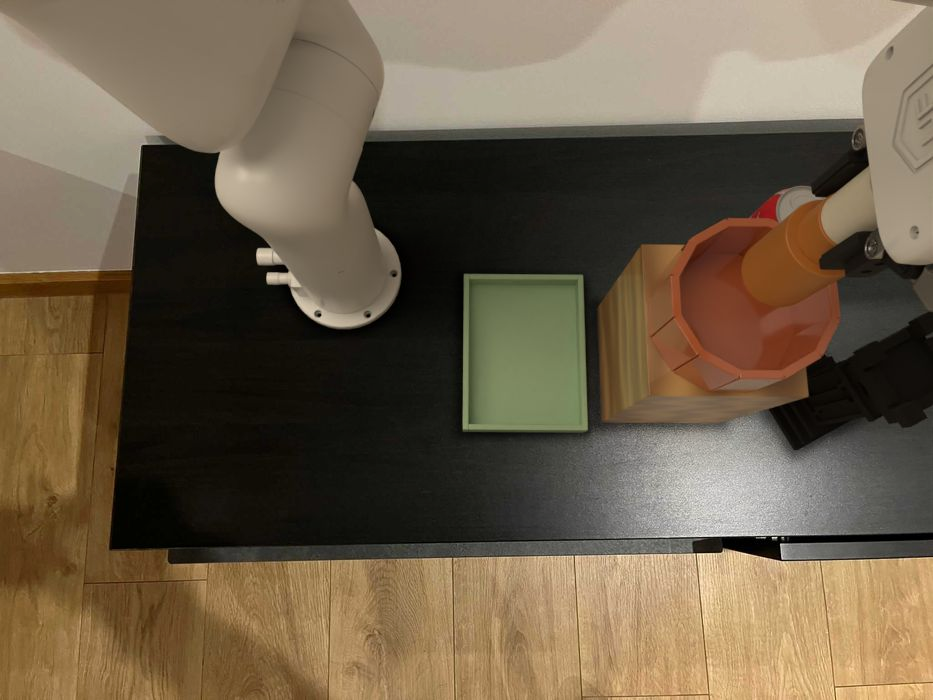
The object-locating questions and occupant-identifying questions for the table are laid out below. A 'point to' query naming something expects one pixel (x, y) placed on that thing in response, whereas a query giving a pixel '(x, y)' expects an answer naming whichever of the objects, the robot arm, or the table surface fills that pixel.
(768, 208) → the soda can
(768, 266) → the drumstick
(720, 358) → the pot
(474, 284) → the tray
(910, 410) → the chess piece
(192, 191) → the table surface
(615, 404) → the stand
